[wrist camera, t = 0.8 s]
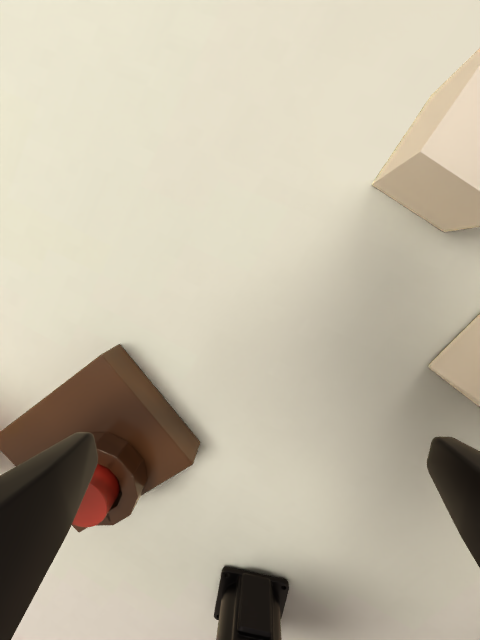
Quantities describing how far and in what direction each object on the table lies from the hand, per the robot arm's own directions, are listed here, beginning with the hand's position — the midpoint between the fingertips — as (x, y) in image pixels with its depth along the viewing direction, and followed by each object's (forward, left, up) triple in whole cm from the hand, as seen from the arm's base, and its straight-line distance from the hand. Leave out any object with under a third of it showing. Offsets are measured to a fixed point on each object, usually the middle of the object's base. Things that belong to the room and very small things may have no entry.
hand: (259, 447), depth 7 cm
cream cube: (+12, -10, -15) cm, 21 cm away
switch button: (-14, +11, -10) cm, 20 cm away
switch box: (-12, +12, -14) cm, 22 cm away
